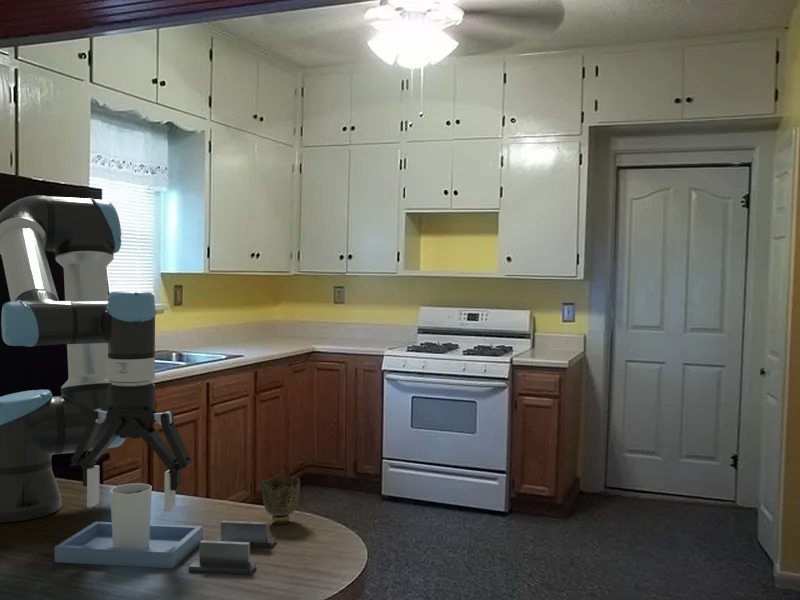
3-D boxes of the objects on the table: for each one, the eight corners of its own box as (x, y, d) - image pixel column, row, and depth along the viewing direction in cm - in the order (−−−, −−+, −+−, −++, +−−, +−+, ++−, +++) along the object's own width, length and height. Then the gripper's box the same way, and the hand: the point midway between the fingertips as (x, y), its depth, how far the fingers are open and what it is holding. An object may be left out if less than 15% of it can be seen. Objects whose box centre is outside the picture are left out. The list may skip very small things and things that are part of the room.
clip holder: (221, 539, 133) (221, 516, 133) (276, 541, 132) (276, 519, 132) (188, 571, 118) (188, 546, 118) (250, 574, 117) (250, 549, 117)
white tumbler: (132, 538, 131) (132, 481, 131) (160, 544, 128) (160, 486, 128) (101, 549, 126) (101, 490, 125) (129, 557, 122) (129, 496, 122)
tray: (95, 535, 134) (95, 521, 134) (202, 540, 132) (202, 526, 132) (54, 562, 121) (54, 547, 121) (172, 568, 119) (172, 552, 119)
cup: (254, 526, 140) (254, 483, 140) (271, 514, 147) (271, 474, 147) (290, 530, 138) (291, 487, 138) (306, 518, 145) (306, 477, 145)
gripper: (49, 383, 124) (49, 510, 125) (194, 387, 121) (193, 517, 122) (73, 377, 131) (73, 497, 132) (210, 381, 129) (210, 503, 129)
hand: (131, 507), depth 127 cm, fingers open, 13 cm apart
